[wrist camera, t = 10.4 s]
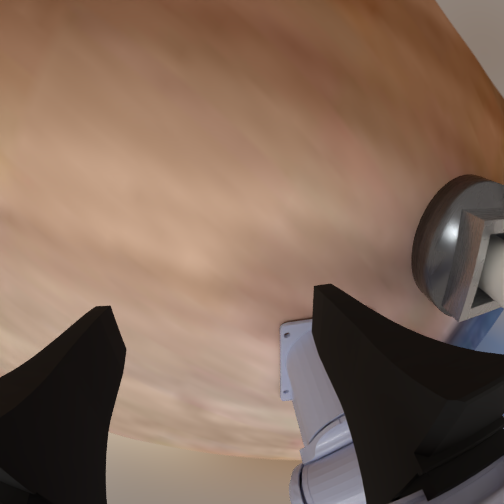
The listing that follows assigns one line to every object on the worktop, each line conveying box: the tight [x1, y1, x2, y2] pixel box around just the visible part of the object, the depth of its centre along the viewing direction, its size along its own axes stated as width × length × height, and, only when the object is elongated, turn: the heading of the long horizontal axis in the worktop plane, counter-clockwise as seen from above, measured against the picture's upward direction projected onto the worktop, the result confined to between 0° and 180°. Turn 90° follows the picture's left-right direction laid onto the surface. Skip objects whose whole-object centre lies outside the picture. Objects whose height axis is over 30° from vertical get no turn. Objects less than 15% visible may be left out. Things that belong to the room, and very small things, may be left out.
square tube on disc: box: [412, 175, 504, 322], centre depth 19 cm, size 12×12×6 cm
